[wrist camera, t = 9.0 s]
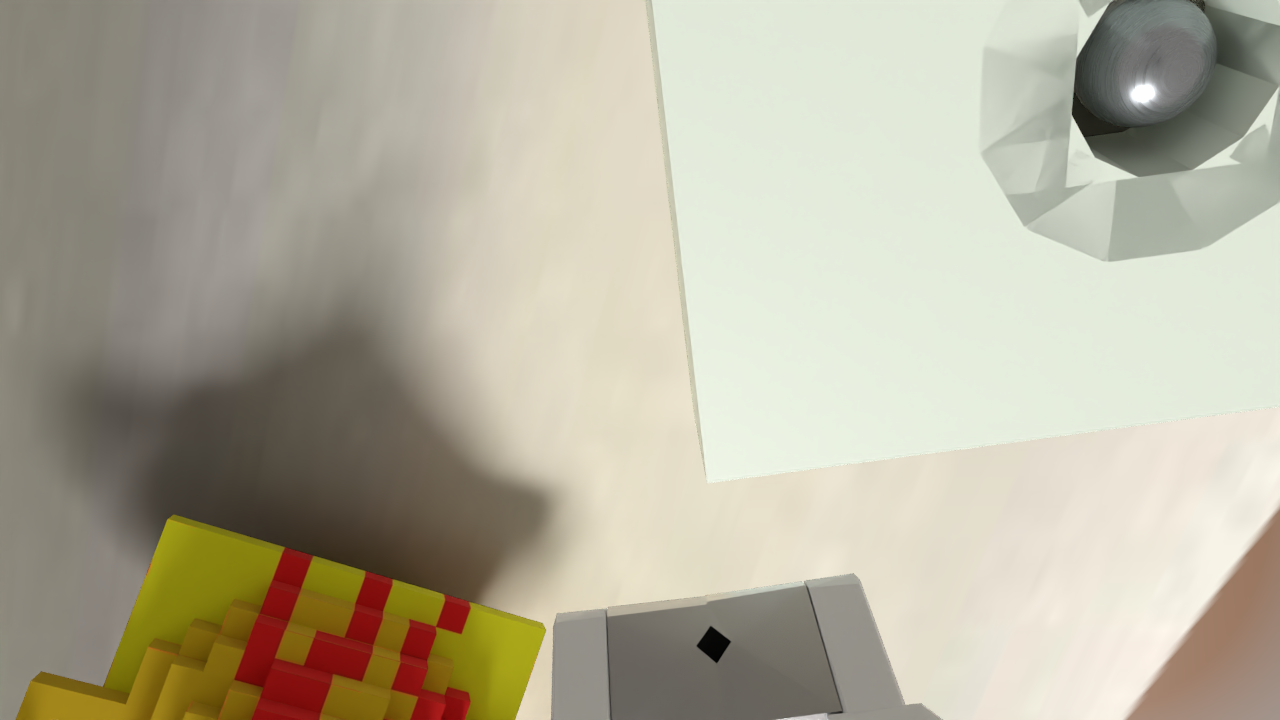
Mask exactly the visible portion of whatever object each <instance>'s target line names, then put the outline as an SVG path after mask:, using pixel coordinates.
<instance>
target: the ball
mask: <svg viewBox="0 0 1280 720" xmlns="http://www.w3.org/2000/svg"><path fill="white" fill-rule="evenodd" d="M1216 60H1217V41H1216V36H1215V32H1214V29H1213V27H1212V25H1211V23H1210V21H1209V19H1208V18H1207V16H1206V15H1205V14H1204V12H1203V11H1202V10H1201V9H1200V8H1199V7H1198V6H1197V5H1195V4H1194V3H1192V2H1191V1H1189V0H1115V1H1113V2H1111V3H1109V5H1108V6H1107V8H1106V10H1105V11H1104V13H1103V15H1102V16H1101V18H1100V20H1099V21H1098V23H1097V25H1096V26H1095V28H1094V30H1093V31H1092V33H1091V35H1090V36H1089V38H1088V40H1087V41H1086V43H1085V45H1084V46H1083V48H1082V50H1081V51H1080V53H1079V54H1078V56H1077V58H1076V68H1075V80H1074V90H1075V93H1076V95H1077V97H1078V98H1079V100H1080V101H1081V103H1082V104H1083V105H1084V107H1085V108H1086V109H1087V110H1088V111H1089V112H1090V113H1092V114H1093V115H1094V116H1096V117H1097V118H1099V119H1101V120H1103V121H1105V122H1107V123H1110V124H1113V125H1116V126H1121V127H1130V128H1139V127H1147V126H1152V125H1156V124H1159V123H1162V122H1165V121H1167V120H1170V119H1172V118H1174V117H1175V116H1177V115H1179V114H1180V113H1182V112H1183V111H1185V110H1186V109H1187V108H1188V107H1190V106H1191V105H1192V104H1193V103H1194V102H1195V101H1196V100H1197V99H1198V98H1199V96H1200V95H1201V94H1202V93H1203V91H1204V90H1205V88H1206V87H1207V85H1208V83H1209V81H1210V79H1211V77H1212V75H1213V72H1214V69H1215V65H1216Z"/></svg>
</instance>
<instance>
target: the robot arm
mask: <svg viewBox="0 0 1280 720" xmlns="http://www.w3.org/2000/svg"><path fill="white" fill-rule="evenodd" d="M551 720H943V719H941V718H940V717H939V716H937V715H936V714H935V713H933V712H932V711H931V710H930V709H928V708H927V707H926V706H924V705H923V704H922V703H919V704H909V705H905V702H904V699H903V697H902V694H901V691H900V688H899V686H898V683H897V680H896V677H895V675H894V672H893V669H892V666H891V664H890V661H889V658H888V655H887V653H886V650H885V647H884V644H883V642H882V639H881V636H880V633H879V631H878V628H877V625H876V622H875V620H874V617H873V614H872V611H871V609H870V606H869V603H868V600H867V598H866V595H865V592H864V589H863V587H862V584H861V581H860V580H859V578H858V577H857V576H856V575H855V574H854V573H853V574H847V575H840V576H833V577H826V578H820V579H813V580H806V581H804V583H803V582H802V581H800V582H794V583H787V584H780V585H773V586H766V587H759V588H752V589H746V590H739V591H732V592H725V593H718V594H711V595H705V596H702V597H693V598H684V599H675V600H666V601H657V602H648V603H639V604H630V605H621V606H612V607H608V609H607V608H605V609H595V610H586V611H577V612H567V613H558V614H557V616H556V619H555V623H554V626H553V663H552V706H551Z"/></svg>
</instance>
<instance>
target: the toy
mask: <svg viewBox="0 0 1280 720" xmlns="http://www.w3.org/2000/svg"><path fill="white" fill-rule="evenodd" d="M545 632H546V629H545V627H544V625H543V623H540V622H537V621H533V620H530V619H527V618H523V617H520V616H516V615H513V614H510V613H506V612H503V611H500V610H496V609H493V608H489V607H486V606H483V605H479V604H476V603H472V602H469V601H466V600H462V599H459V598H455V597H452V596H449V595H445V594H442V593H438V592H435V591H432V590H428V589H425V588H422V587H418V586H415V585H411V584H408V583H405V582H401V581H398V580H394V579H391V578H388V577H384V576H381V575H377V574H374V573H371V572H367V571H364V570H361V569H357V568H354V567H350V566H347V565H344V564H340V563H337V562H333V561H330V560H327V559H323V558H320V557H316V556H313V555H310V554H306V553H303V552H300V551H296V550H293V549H289V548H286V547H283V546H279V545H276V544H272V543H269V542H266V541H262V540H259V539H255V538H252V537H249V536H245V535H242V534H239V533H235V532H232V531H228V530H225V529H222V528H218V527H215V526H211V525H208V524H205V523H201V522H198V521H194V520H191V519H188V518H184V517H181V516H178V515H172V516H171V517H170V518H168V519H167V522H166V524H165V527H164V530H163V532H162V535H161V537H160V540H159V543H158V545H157V548H156V551H155V553H154V556H153V558H152V561H151V564H150V566H149V569H148V571H147V574H146V577H145V579H144V582H143V584H142V587H141V590H140V592H139V595H138V597H137V600H136V603H135V605H134V608H133V610H132V613H131V616H130V618H129V621H128V623H127V626H126V629H125V631H124V634H123V636H122V639H121V642H120V644H119V647H118V649H117V652H116V655H115V657H114V660H113V662H112V665H111V668H110V670H109V673H108V675H107V678H106V681H105V683H104V686H103V687H101V686H97V685H93V684H89V683H85V682H81V681H77V680H73V679H69V678H65V677H61V676H57V675H54V674H50V673H46V672H42V671H41V672H40V673H39V674H38V675H37V676H36V677H35V678H33V679H32V680H31V682H30V684H29V687H28V689H27V692H26V694H25V697H24V700H23V702H22V705H21V707H20V710H19V712H18V715H17V717H16V720H515V718H516V715H517V712H518V710H519V707H520V704H521V701H522V698H523V695H524V692H525V690H526V687H527V684H528V681H529V678H530V675H531V672H532V669H533V667H534V664H535V661H536V658H537V655H538V652H539V649H540V647H541V644H542V641H543V638H544V635H545Z"/></svg>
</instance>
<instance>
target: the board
mask: <svg viewBox="0 0 1280 720" xmlns="http://www.w3.org/2000/svg"><path fill="white" fill-rule="evenodd" d="M1111 1H1113V0H646V7H647V15H648V24H649V32H650V41H651V49H652V58H653V66H654V75H655V83H656V92H657V101H658V109H659V118H660V126H661V135H662V143H663V152H664V160H665V169H666V178H667V186H668V195H669V203H670V212H671V220H672V229H673V237H674V246H675V254H676V263H677V272H678V280H679V289H680V297H681V306H682V314H683V323H684V331H685V340H686V349H687V357H688V366H689V374H690V383H691V391H692V400H693V408H694V417H695V423H696V428H697V433H698V439H699V444H700V449H701V454H702V460H703V465H704V470H705V475H706V481H707V483H713V482H721V481H728V480H736V479H743V478H751V477H758V476H766V475H773V474H781V473H788V472H796V471H803V470H811V469H818V468H826V467H833V466H841V465H848V464H855V463H863V462H870V461H878V460H885V459H893V458H900V457H908V456H915V455H923V454H930V453H938V452H945V451H953V450H960V449H968V448H975V447H983V446H990V445H998V444H1005V443H1013V442H1020V441H1028V440H1035V439H1043V438H1050V437H1058V436H1065V435H1073V434H1080V433H1088V432H1095V431H1103V430H1110V429H1118V428H1125V427H1133V426H1140V425H1148V424H1155V423H1163V422H1170V421H1178V420H1185V419H1193V418H1200V417H1208V416H1215V415H1223V414H1230V413H1238V412H1245V411H1253V410H1260V409H1268V408H1275V407H1280V0H1203V1H1204V3H1205V10H1204V14H1205V15H1206V16H1207V18H1208V19H1209V21H1210V23H1211V25H1212V27H1213V29H1214V32H1215V36H1216V41H1217V60H1216V65H1215V69H1214V72H1213V75H1212V77H1211V79H1210V81H1209V83H1208V85H1207V87H1206V88H1205V90H1204V91H1203V93H1202V94H1201V95H1200V96H1199V98H1198V99H1197V100H1196V101H1195V102H1194V103H1193V104H1192V105H1191V106H1190V107H1188V108H1187V109H1186V110H1185V111H1183V112H1182V113H1180V114H1179V115H1177V116H1175V117H1174V118H1172V119H1170V120H1167V121H1165V122H1162V123H1159V124H1156V125H1152V126H1147V127H1139V128H1129V129H1127V130H1126V131H1124V132H1119V133H1112V134H1105V135H1097V136H1090V137H1083V135H1082V133H1081V131H1080V129H1079V128H1078V126H1077V124H1076V122H1075V120H1074V118H1073V116H1072V104H1073V92H1074V80H1075V68H1076V58H1077V56H1078V54H1079V53H1080V51H1081V50H1082V48H1083V46H1084V45H1085V43H1086V41H1087V40H1088V38H1089V36H1090V35H1091V33H1092V31H1093V30H1094V28H1095V26H1096V25H1097V23H1098V21H1099V20H1100V18H1101V16H1102V15H1103V13H1104V11H1105V10H1106V8H1107V6H1108V5H1109V3H1110V2H1111Z"/></svg>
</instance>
